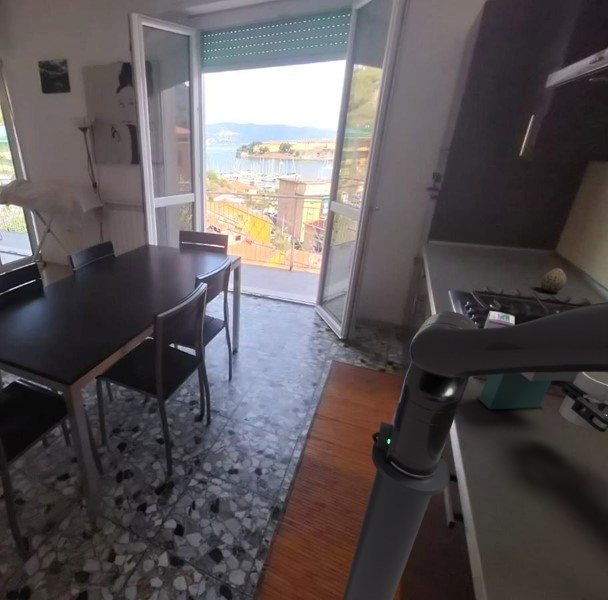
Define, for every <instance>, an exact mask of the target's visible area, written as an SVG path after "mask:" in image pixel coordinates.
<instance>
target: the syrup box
mask: <svg viewBox="0 0 608 600" xmlns="http://www.w3.org/2000/svg"><path fill="white" fill-rule="evenodd" d="M515 318H516V317H515V315H513V314H509V313H506V312H501V311H493V310H489V311H488V314H487V317H486V320H485V323H484V326H483V328H496V327H506V326H512V325H516V324H515Z"/></svg>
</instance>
